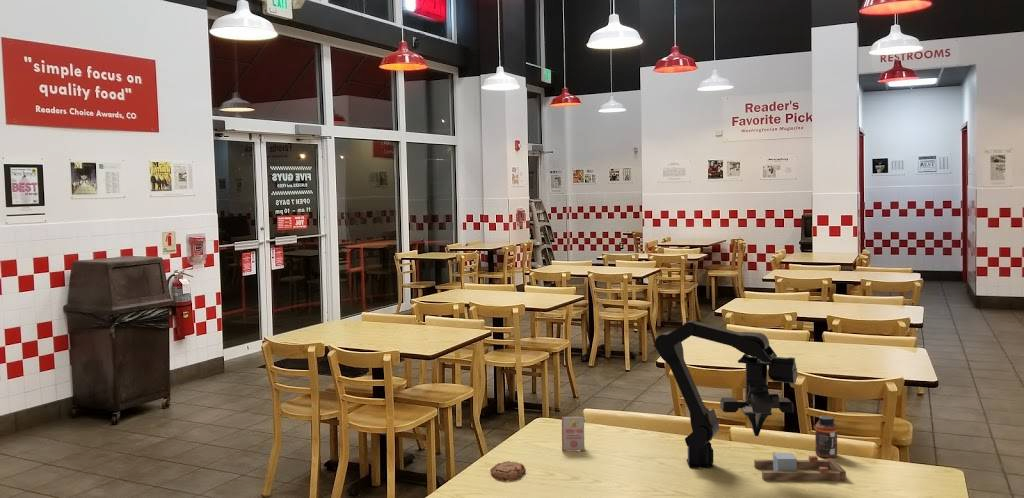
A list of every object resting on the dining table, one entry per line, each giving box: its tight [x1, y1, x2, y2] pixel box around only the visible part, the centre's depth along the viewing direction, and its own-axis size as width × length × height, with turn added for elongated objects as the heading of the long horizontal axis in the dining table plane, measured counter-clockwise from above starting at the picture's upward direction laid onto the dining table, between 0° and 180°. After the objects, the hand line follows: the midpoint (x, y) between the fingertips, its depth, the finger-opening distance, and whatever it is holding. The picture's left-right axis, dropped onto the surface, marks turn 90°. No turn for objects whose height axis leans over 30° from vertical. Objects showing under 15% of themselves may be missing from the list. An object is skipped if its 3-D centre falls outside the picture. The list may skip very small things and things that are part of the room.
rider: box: [772, 452, 798, 471], centre depth 218 cm, size 5×5×5 cm
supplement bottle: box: [814, 415, 838, 459], centre depth 233 cm, size 6×6×11 cm
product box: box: [561, 416, 585, 451], centre depth 244 cm, size 4×7×10 cm, turn 85°
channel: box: [753, 455, 847, 482], centre depth 218 cm, size 22×11×3 cm, turn 85°
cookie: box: [489, 460, 527, 482], centre depth 222 cm, size 10×11×3 cm
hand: (756, 435), depth 218 cm, fingers closed
